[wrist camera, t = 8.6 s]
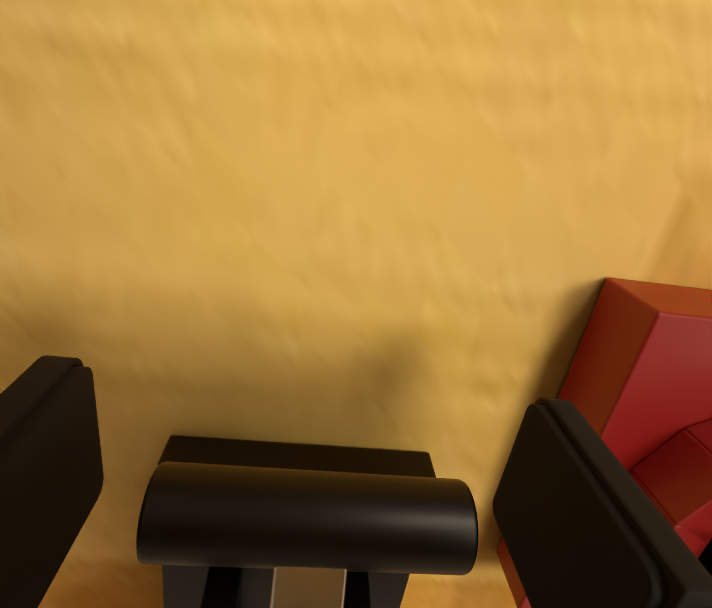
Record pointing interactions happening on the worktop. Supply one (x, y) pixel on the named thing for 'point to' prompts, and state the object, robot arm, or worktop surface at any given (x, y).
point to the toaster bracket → (253, 585)
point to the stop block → (649, 400)
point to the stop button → (707, 557)
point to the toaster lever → (306, 525)
